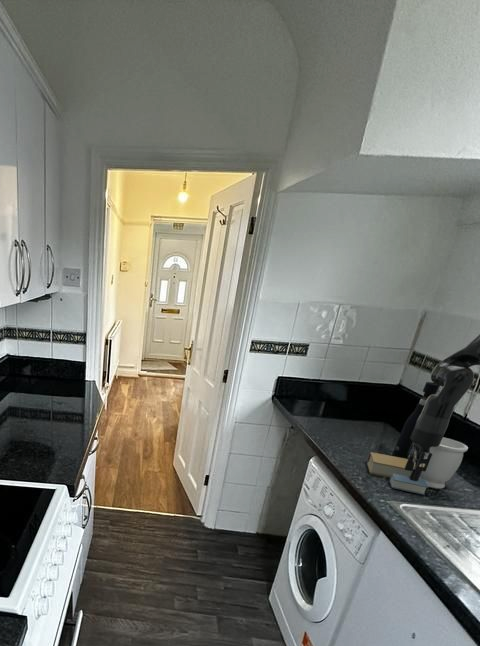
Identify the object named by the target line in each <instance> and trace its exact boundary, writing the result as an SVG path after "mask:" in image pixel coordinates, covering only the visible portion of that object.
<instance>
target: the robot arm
mask: <svg viewBox="0 0 480 646" xmlns="http://www.w3.org/2000/svg"><path fill="white" fill-rule="evenodd" d="M473 366H474V367H475V366H480V333H479V334H478V335H477V336H476V337H475V338H474V339H472V340H471V341H470V342H469V343H468V344H467V345H466V346H465V347H464V348H461V349H460V350H457V351H455V352H454V353H452V354H451V355H449V356H448V357H446V358H444V359H442V360H441V361H440V362H439V363H438V364H436V365H435V367H433V369H432V371H431V373H430V380H431V382H432V383H435V384H437V385H439V387H442V389H441V390H440V391H439V393H436V394H432V395H430V396H429V397H428V398H427V400H426V403H425V405H424V408H423V410H422V412H421V414H420V416H419V418H418V420H417V422H416V425H415V427H414V430H413V432H412V435H411V437H410V439H411V440H412V441H413V442H412V444H411V447H410V449H409V451H408V453H407V454H408V455H409V456H408V461H407V463H406V466H405V470H408V471H412V473H411V475H410V477H409V479H410V480H412V481H418V479H419V477H420V475H421V472H422V471H424V472H425V471H426V469H427V466H428V464H429V461H430V459H431V456H432V453H430V451H429V450H430V447H437V446H439V445H440V443H441V440H442V438H443V437H444V436H445V433H446V431H447V429H448V426H449V423H450V419H451V418H452V415H453V412H454V410H455V407H456V405H457V404H458V403H459V402H460V401H461V399H462V398H463V397H464V395H465V394H466V393H467V392H468V391H469V390H470V388H471V386H472V385H473V383H474V380H475V375H474V374H475V373H474V371H473V369H471V367H473ZM420 464H422V466H421V467H420V466H419V465H420Z"/></svg>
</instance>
